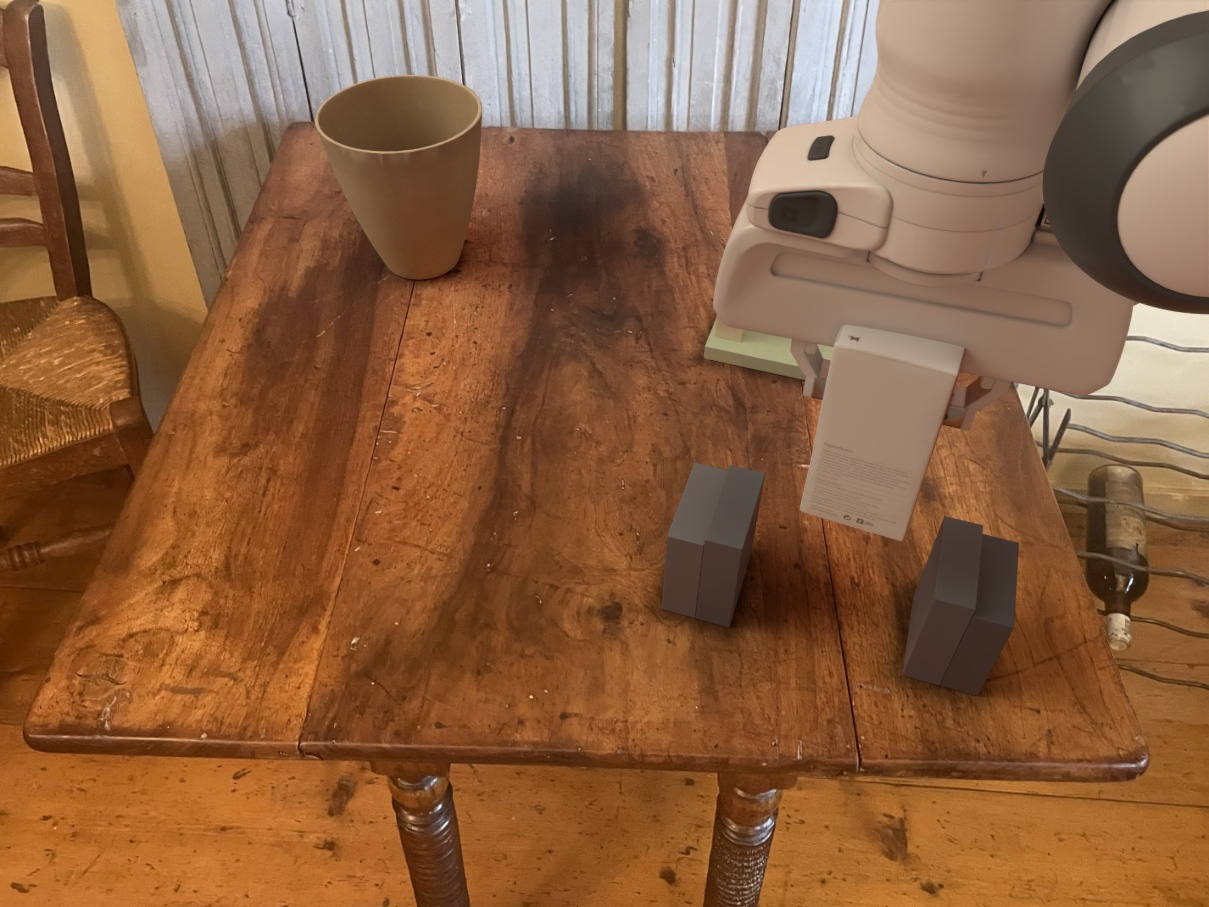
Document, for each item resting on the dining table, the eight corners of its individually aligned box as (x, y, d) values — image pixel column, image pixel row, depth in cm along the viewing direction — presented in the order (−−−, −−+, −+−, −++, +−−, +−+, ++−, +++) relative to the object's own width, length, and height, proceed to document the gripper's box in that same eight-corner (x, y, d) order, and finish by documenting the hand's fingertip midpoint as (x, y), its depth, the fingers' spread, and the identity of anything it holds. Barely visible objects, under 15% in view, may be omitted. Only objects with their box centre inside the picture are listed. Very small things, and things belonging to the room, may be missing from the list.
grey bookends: (984, 613, 70) (1023, 534, 64) (977, 696, 66) (1018, 620, 59) (686, 537, 75) (695, 456, 69) (661, 609, 71) (667, 529, 64)
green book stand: (917, 332, 92) (945, 237, 85) (904, 402, 86) (933, 305, 78) (729, 294, 96) (740, 200, 88) (703, 358, 90) (712, 262, 82)
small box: (903, 545, 57) (959, 376, 48) (796, 513, 59) (830, 344, 49) (930, 452, 62) (985, 283, 53) (831, 425, 64) (867, 256, 54)
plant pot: (524, 243, 102) (514, 96, 90) (436, 321, 93) (412, 170, 82) (410, 202, 107) (387, 59, 96) (317, 273, 98) (278, 124, 87)
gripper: (1179, 190, 45) (1079, 408, 55) (745, 126, 50) (724, 337, 60) (1189, 267, 41) (1079, 487, 51) (715, 189, 46) (698, 405, 56)
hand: (884, 406), depth 56 cm, fingers closed on small box, 6 cm apart
